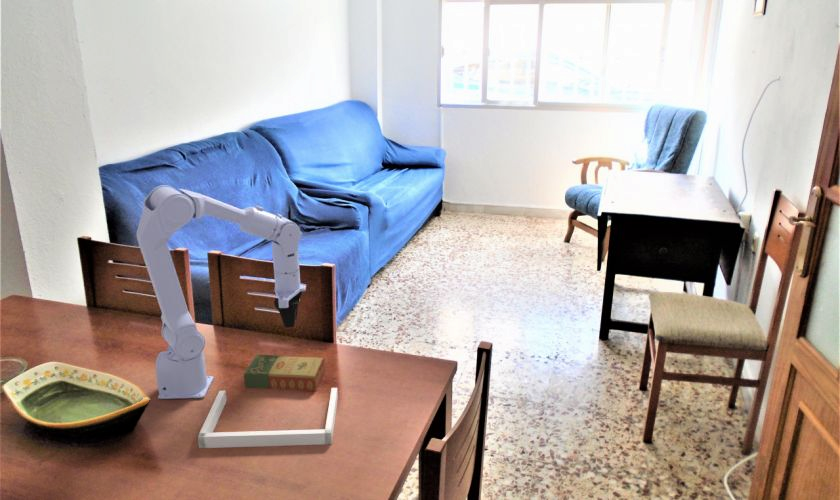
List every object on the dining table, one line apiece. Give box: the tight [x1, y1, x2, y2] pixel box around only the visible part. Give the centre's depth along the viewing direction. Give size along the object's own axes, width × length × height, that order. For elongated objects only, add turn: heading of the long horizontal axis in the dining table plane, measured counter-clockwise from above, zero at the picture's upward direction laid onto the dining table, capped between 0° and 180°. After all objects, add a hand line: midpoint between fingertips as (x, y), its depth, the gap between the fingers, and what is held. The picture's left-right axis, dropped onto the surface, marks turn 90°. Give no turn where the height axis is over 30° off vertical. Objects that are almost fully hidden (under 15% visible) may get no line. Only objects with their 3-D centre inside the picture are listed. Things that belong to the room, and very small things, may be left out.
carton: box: [243, 354, 326, 392], centre depth 130 cm, size 8×16×4 cm, turn 85°
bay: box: [197, 387, 339, 449], centre depth 116 cm, size 24×15×2 cm, turn 93°
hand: (290, 322), depth 138 cm, fingers open, 3 cm apart
